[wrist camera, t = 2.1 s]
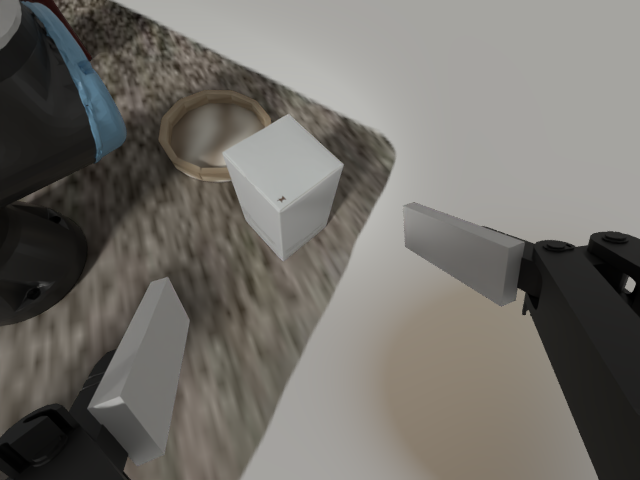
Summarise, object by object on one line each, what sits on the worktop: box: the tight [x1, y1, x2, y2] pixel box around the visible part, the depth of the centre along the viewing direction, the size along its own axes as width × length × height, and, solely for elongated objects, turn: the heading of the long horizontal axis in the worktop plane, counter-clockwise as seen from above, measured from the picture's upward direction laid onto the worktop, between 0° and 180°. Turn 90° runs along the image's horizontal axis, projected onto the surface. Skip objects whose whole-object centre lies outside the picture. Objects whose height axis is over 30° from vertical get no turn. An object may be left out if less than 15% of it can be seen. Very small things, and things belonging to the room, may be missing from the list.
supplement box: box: [222, 114, 344, 261], centre depth 33 cm, size 9×9×15 cm
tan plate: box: [158, 90, 271, 183], centre depth 43 cm, size 17×17×2 cm
